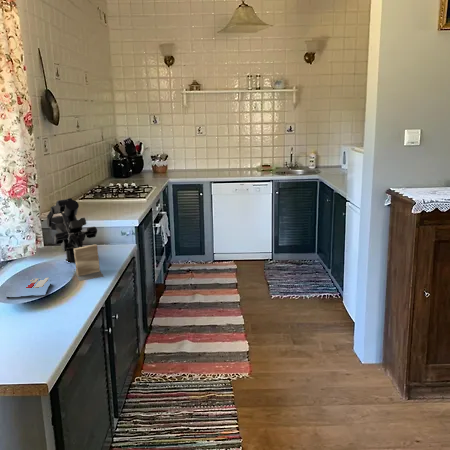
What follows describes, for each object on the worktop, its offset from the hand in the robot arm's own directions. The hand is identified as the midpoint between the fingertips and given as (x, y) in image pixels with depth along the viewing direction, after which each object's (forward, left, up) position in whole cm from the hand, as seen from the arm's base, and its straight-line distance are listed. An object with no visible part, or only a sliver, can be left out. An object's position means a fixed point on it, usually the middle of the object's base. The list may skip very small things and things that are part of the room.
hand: (81, 251), depth 211 cm
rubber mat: (+7, +1, -9) cm, 11 cm away
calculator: (+15, -24, -10) cm, 30 cm away
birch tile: (+7, +1, -8) cm, 11 cm away
